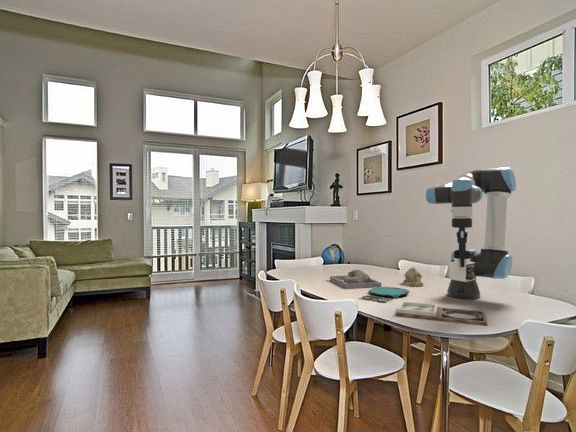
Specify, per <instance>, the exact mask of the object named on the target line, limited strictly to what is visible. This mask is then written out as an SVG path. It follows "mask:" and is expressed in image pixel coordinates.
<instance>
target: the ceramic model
mask: <svg viewBox="0 0 576 432" xmlns="http://www.w3.org/2000/svg"><path fill="white" fill-rule="evenodd" d="M403 276H404V278H405V279H403V281H402V283H403V285H406V286H409V287H422V286H424V282H422V281H421V280H422V274H421V273H420V272H419V271H418V270H417V269H416V268H415V267H413V266H412V267H411V268H409V269H408V270H407V271H406V272H405V273H404V274H403Z"/></svg>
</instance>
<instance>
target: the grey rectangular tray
mask: <svg viewBox="0 0 576 432" xmlns="http://www.w3.org/2000/svg"><path fill="white" fill-rule="evenodd" d="M346 275H347V276H348V274H346ZM343 279H344V275H329V280H330V281H331V282H333V283H335V284H337V285H338V286H340V287H342V288H345V290H347V289H365V288H366V289H369V288H371V289H372V288H377V287H382V282H381V281H378V280H376V279H373V278H371V277H370V279H368V280H366V281H365V282H363V283H356V284H347V283H345V282H343Z"/></svg>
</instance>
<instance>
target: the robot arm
mask: <svg viewBox="0 0 576 432" xmlns="http://www.w3.org/2000/svg"><path fill="white" fill-rule="evenodd" d="M515 176H516V175H515V173H514V171H513V169H512V168H511V167H497V168H496V167H494V168H483V169H482V168H481V169H474V170H470V171H468V172H466V173H463V174H461V175H459V176H458V177H457V178H456V179H454V180H452V181H449V182H447V183H445V184H443V185H440V186H433V187H428V188H427V189H426V191H425V199H426V202H427V203H428V204H431V205H441V204H445V205H447V204H451V209H450V210H449V212H450V213H451V217H452V218H451V227H452V228H453V229H454V228H457V229H458V231H456V237H457V238H456V241H457V243H458V250H459V256H457V259H458V264H459V275H466V250H468V251H470V262H475V280H472V281H467V282H464V281H457V280H450V281H449V285H448V288H447V289H446V290H447V291H446V292H447V293H446V294H447V296H448V297H451V298H458V299H465V300H472V299H473V300H476V299H479V298H481V291H480V288H479V285H478V282H477V277H479V278H487V279H488V278H489V279H495V280H496V279H498V280H499V279H501V280H505V279H507V278H508V276H509V275H510V274H511V271H512V267H513V257H512V255H511V254H509V251H508V249H507V248H506V247H505V246H506V245H505V244H506V230H507V213H508V212H507V211H508V199H509V198H510V197H511V196H512V192H515V191H516V188H517V184H516V183H517V181H516V177H515ZM483 196H484V197H485V198H487V199H486V212H485V213H486V217H485V232H484V233H485V234H484V246H483V247H481V248H480V252H477V249H466V248H467V242H468V231H466V229H467V228H469V229H471V228H472V227H473V218H472V217H473V204H476V203H477V204H478V203H479V202H480V201H481V200H482V198H483ZM454 251H455V250H453V251H452V252H451V253H450V262H453V261H455V260H454Z"/></svg>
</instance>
